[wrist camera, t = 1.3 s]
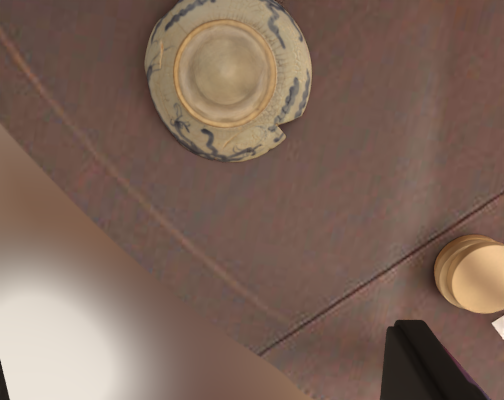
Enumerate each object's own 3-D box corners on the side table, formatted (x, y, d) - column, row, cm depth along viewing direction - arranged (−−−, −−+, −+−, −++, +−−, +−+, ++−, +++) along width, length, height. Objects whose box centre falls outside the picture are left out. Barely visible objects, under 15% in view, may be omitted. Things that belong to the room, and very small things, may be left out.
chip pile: (463, 218, 36) (481, 228, 33) (522, 256, 37) (545, 269, 34) (416, 278, 37) (429, 292, 35) (473, 312, 38) (490, 329, 35)
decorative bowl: (169, -41, 31) (127, 132, 34) (157, -61, 27) (112, 135, 31) (336, 20, 32) (279, 181, 35) (346, 9, 28) (281, 190, 32)
